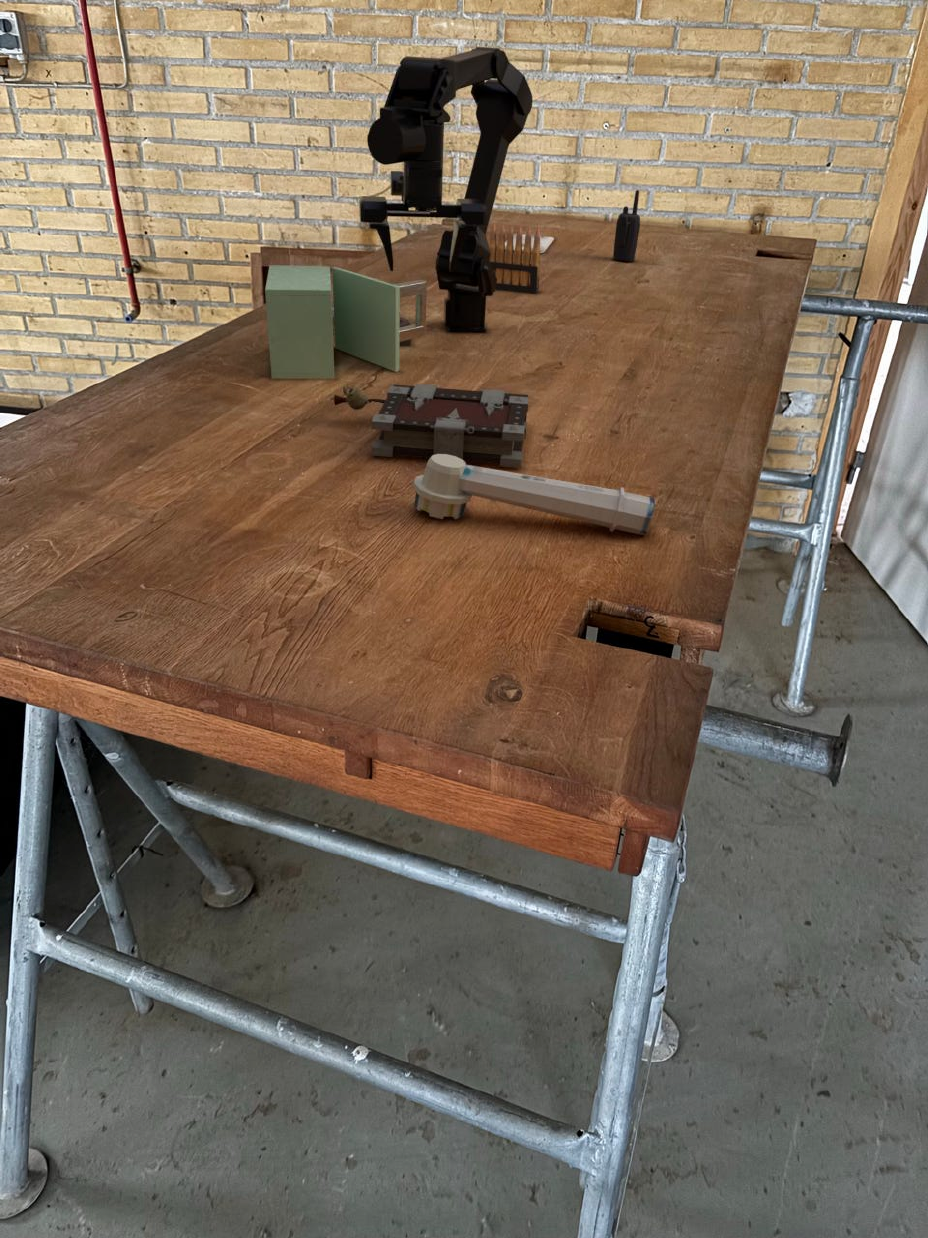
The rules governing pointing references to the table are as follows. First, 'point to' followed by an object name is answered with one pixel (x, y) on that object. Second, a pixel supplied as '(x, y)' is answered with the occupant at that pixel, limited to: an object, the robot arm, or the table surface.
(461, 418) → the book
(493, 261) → the ammunition clip
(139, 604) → the table surface
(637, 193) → the two-way radio
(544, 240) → the tile
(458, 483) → the toothbrush head
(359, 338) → the cabinet door
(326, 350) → the cabinet
